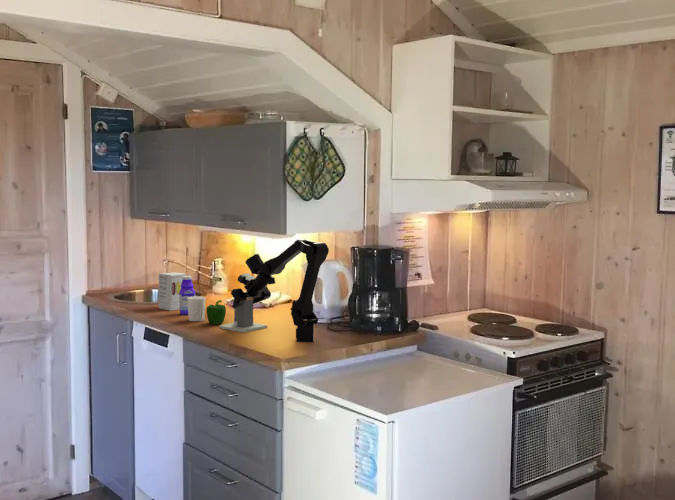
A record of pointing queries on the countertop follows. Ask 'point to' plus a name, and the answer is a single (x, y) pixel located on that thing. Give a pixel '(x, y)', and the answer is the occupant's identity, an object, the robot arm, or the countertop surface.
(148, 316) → the countertop surface
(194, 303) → the white cup
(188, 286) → the bottle
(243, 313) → the plug block
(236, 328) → the board
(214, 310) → the bell pepper
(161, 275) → the supplement box
